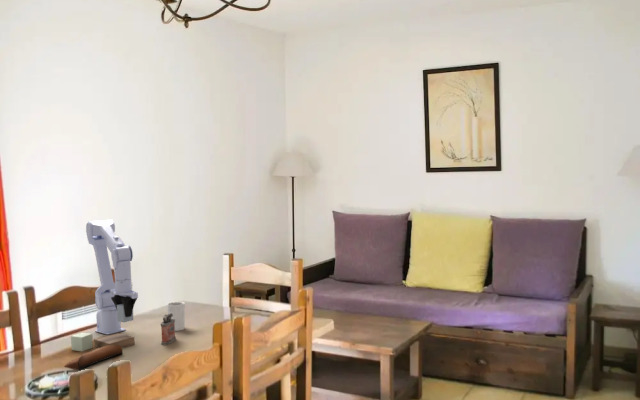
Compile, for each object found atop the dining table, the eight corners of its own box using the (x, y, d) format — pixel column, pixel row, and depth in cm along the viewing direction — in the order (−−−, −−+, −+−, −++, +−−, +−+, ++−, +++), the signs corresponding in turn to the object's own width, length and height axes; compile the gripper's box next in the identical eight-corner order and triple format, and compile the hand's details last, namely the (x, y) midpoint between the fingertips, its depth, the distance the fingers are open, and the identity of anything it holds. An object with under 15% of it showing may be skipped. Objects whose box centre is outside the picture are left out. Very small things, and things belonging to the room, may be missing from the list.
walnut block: (94, 347, 222) (93, 339, 222) (119, 340, 230) (118, 332, 230) (109, 352, 216) (109, 343, 215) (134, 345, 223) (134, 337, 223)
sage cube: (71, 350, 218) (70, 336, 218) (82, 346, 223) (81, 332, 223) (82, 351, 216) (81, 337, 216) (93, 347, 221) (92, 333, 220)
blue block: (117, 321, 228) (116, 304, 227) (126, 318, 231) (126, 302, 231) (124, 322, 225) (123, 306, 225) (133, 320, 228) (132, 304, 228)
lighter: (168, 344, 221) (166, 317, 220) (159, 344, 222) (158, 317, 221) (177, 338, 229) (176, 311, 228) (169, 338, 229) (168, 311, 229)
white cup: (183, 330, 239) (182, 305, 239) (166, 331, 240) (165, 305, 239) (187, 326, 246) (186, 301, 245) (170, 326, 246) (169, 301, 246)
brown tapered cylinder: (105, 351, 215) (111, 336, 213) (118, 363, 212) (124, 348, 210) (61, 367, 199) (68, 350, 197) (75, 380, 197) (81, 364, 195)
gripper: (102, 279, 229) (104, 315, 229) (125, 282, 220) (127, 320, 220) (118, 276, 234) (120, 311, 235) (142, 279, 225) (143, 316, 226)
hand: (124, 315), depth 228 cm, fingers closed on blue block, 4 cm apart
